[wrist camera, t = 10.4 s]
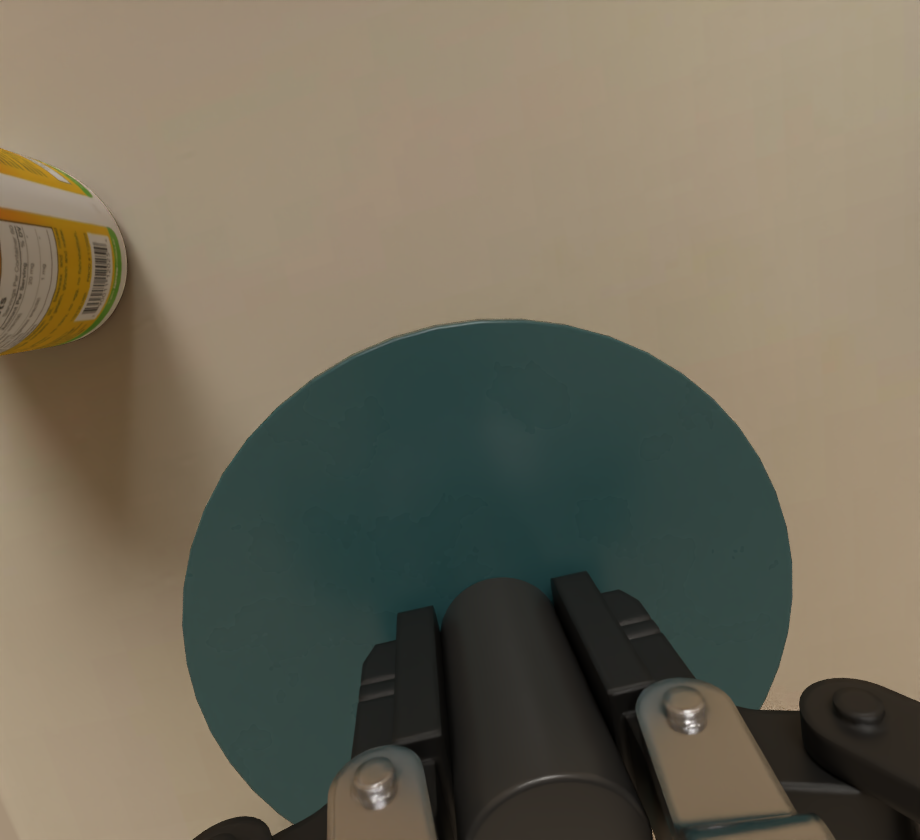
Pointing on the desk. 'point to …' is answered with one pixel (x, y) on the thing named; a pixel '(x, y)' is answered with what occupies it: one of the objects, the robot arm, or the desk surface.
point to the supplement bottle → (54, 257)
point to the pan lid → (479, 563)
